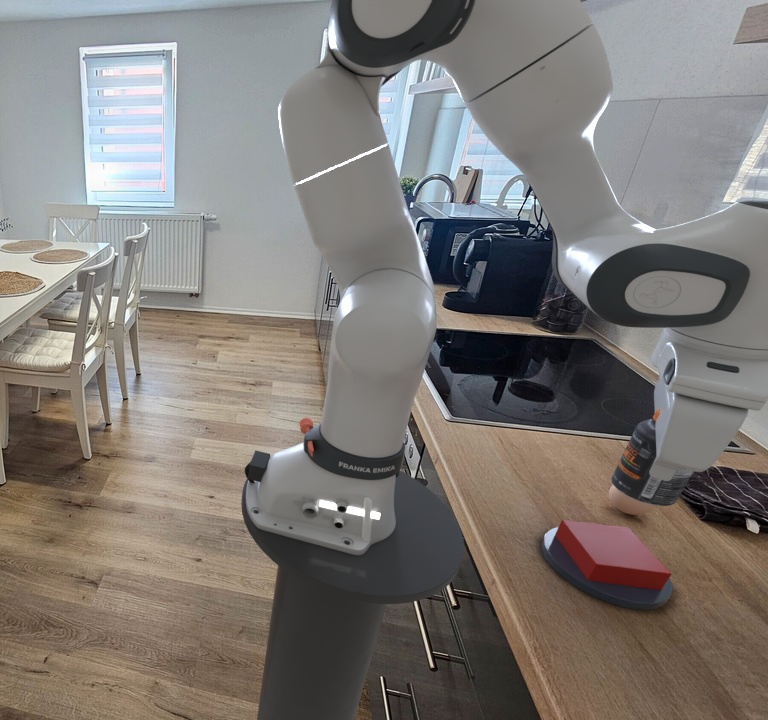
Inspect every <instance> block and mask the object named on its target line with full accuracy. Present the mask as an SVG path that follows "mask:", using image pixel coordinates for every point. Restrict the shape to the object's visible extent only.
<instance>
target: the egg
mask: <svg viewBox="0 0 768 720" xmlns="http://www.w3.org/2000/svg"><path fill="white" fill-rule="evenodd" d="M608 498H609V501H610V502H611V504H612V505H613V506H614V507H615V508H616V509H617V510H619V511H620V512H622V513H624V514H628V515H633V516H642V515H646V514H648V513H650V512H652V511H653V510H654V508H655V507H656V505H651V504H647V503H643V502H640V501H637V500H635V499H633V498H630V497H628V496H627V495H625V494H623V493H622V492H620V491H619V490H618V489H617V488H616V487H615V486H614V485H613V484H612V485H611V487H610V489H609V491H608Z"/></svg>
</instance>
